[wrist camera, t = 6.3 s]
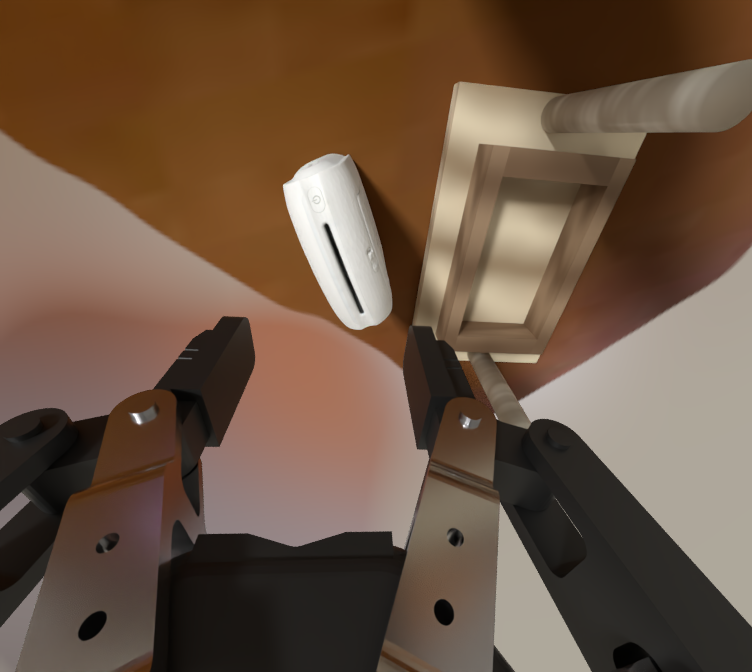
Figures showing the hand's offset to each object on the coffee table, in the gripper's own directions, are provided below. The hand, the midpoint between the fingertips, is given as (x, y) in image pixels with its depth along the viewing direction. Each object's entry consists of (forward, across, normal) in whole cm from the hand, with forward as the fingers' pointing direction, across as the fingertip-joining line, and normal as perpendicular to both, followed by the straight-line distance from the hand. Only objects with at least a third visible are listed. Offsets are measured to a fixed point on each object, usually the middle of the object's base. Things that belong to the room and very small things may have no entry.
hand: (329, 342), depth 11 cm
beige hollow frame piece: (+19, -15, +2) cm, 24 cm away
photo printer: (+19, 0, 0) cm, 19 cm away
